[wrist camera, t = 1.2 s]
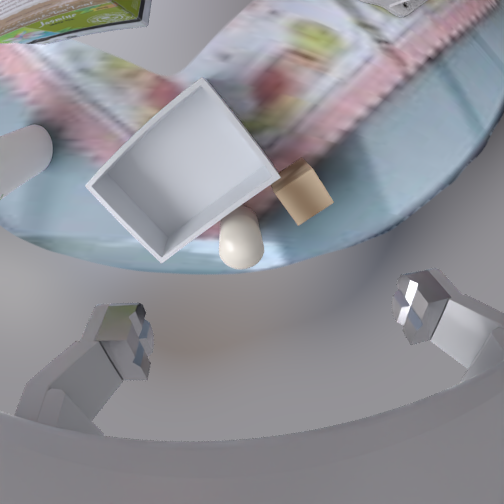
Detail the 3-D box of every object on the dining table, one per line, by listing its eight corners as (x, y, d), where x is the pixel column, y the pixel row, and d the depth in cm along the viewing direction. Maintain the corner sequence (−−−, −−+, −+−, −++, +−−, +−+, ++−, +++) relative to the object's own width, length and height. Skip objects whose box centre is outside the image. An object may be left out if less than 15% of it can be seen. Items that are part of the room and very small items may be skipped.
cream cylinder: (242, 197, 37) (246, 222, 31) (265, 225, 39) (272, 253, 33) (212, 220, 38) (209, 247, 32) (235, 245, 40) (237, 276, 34)
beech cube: (301, 157, 34) (312, 168, 30) (321, 187, 37) (333, 202, 33) (268, 179, 36) (274, 193, 31) (290, 208, 38) (298, 225, 34)
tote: (206, 79, 28) (202, 77, 24) (272, 163, 35) (280, 177, 30) (102, 171, 33) (84, 185, 28) (168, 240, 39) (161, 263, 34)
